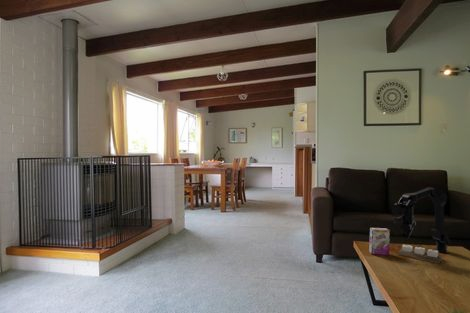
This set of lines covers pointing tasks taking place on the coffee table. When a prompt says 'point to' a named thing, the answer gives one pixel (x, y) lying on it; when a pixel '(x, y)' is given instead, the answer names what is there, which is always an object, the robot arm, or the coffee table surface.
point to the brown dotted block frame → (420, 256)
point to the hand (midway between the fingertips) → (407, 237)
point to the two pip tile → (419, 250)
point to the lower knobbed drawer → (432, 253)
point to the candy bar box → (379, 241)
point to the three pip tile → (407, 248)
